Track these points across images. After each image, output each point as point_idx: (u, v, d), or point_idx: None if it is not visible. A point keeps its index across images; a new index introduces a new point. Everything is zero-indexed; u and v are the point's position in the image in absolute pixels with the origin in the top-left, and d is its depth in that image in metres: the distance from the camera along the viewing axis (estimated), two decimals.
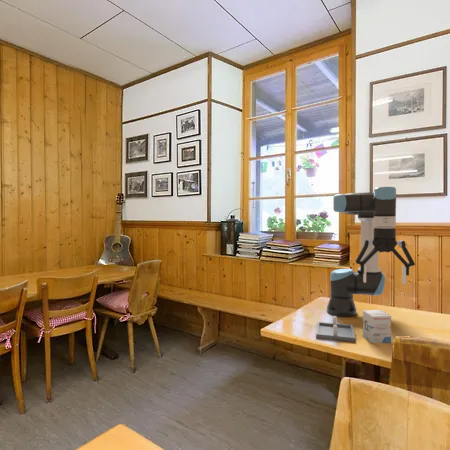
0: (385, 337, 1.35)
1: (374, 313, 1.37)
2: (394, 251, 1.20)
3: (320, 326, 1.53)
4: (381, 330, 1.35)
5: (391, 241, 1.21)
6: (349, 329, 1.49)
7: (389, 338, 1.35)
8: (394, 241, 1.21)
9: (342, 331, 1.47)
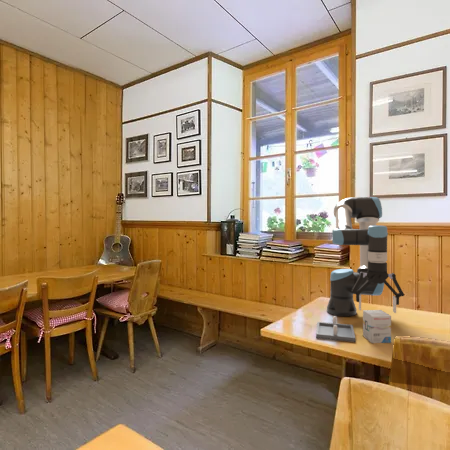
0: (385, 337, 1.35)
1: (375, 313, 1.37)
2: (386, 283, 1.35)
3: (320, 326, 1.53)
4: (381, 330, 1.35)
5: (383, 274, 1.36)
6: (349, 329, 1.49)
7: (389, 338, 1.35)
8: (386, 274, 1.36)
9: (342, 331, 1.47)
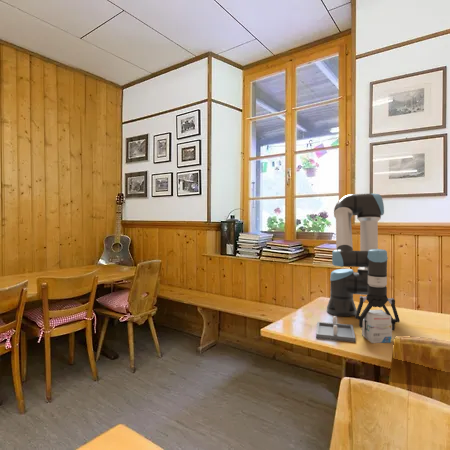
0: (385, 337, 1.35)
1: (375, 313, 1.37)
2: (384, 307, 1.36)
3: (320, 326, 1.53)
4: (381, 329, 1.35)
5: (383, 297, 1.37)
6: (349, 329, 1.49)
7: (389, 338, 1.35)
8: (386, 298, 1.36)
9: (342, 331, 1.47)
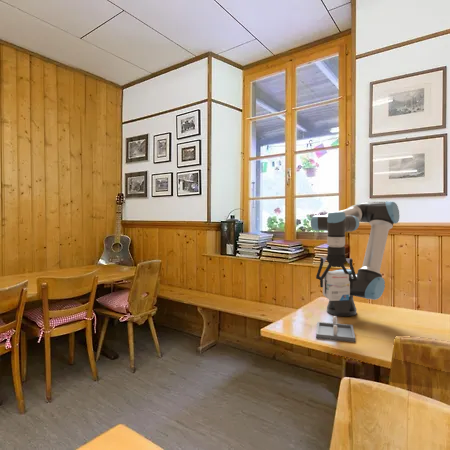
0: (343, 295, 1.41)
1: (334, 273, 1.43)
2: (342, 267, 1.42)
3: (320, 326, 1.53)
4: (339, 288, 1.41)
5: (341, 257, 1.43)
6: (349, 329, 1.49)
7: (346, 296, 1.41)
8: (344, 258, 1.42)
9: (342, 331, 1.47)
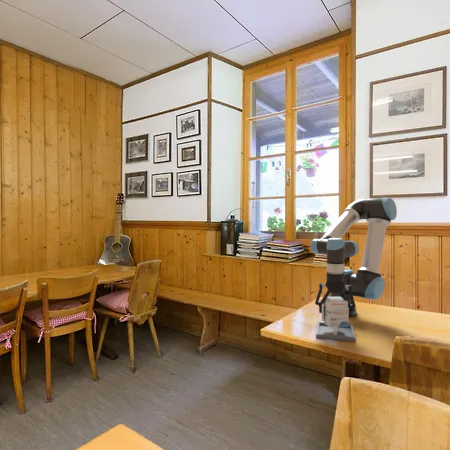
0: (342, 321, 1.42)
1: (333, 299, 1.44)
2: (341, 293, 1.43)
3: (320, 326, 1.53)
4: (338, 314, 1.41)
5: (340, 284, 1.43)
6: (349, 329, 1.49)
7: (345, 322, 1.42)
8: (343, 284, 1.43)
9: (342, 331, 1.47)
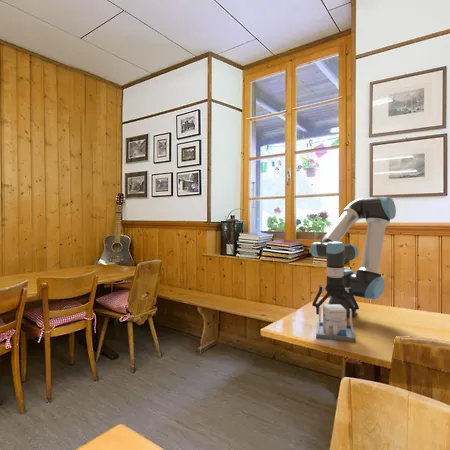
0: (340, 330, 1.42)
1: (331, 307, 1.44)
2: (342, 297, 1.43)
3: (320, 326, 1.53)
4: (336, 323, 1.42)
5: (340, 288, 1.44)
6: (349, 329, 1.49)
7: (344, 331, 1.42)
8: (342, 288, 1.43)
9: None
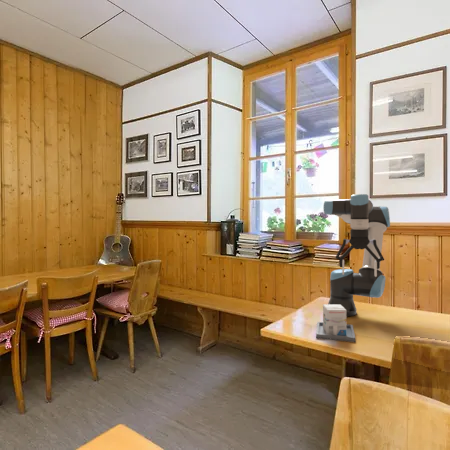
0: (340, 330, 1.42)
1: (331, 307, 1.44)
2: (367, 248, 1.43)
3: (320, 326, 1.53)
4: (336, 323, 1.42)
5: (364, 240, 1.44)
6: (349, 329, 1.49)
7: (344, 331, 1.42)
8: (367, 240, 1.43)
9: None
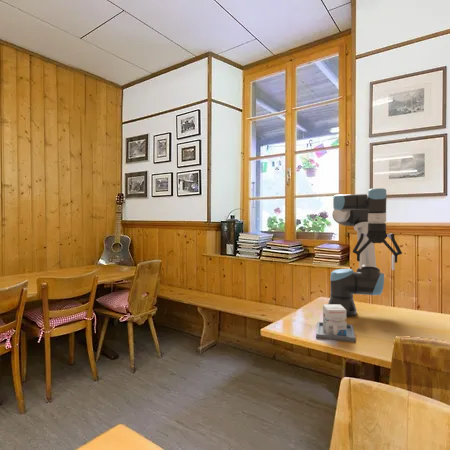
0: (340, 330, 1.42)
1: (331, 307, 1.44)
2: (385, 242, 1.44)
3: (320, 326, 1.53)
4: (336, 323, 1.42)
5: (382, 234, 1.45)
6: (349, 329, 1.49)
7: (344, 331, 1.42)
8: (385, 234, 1.44)
9: None
